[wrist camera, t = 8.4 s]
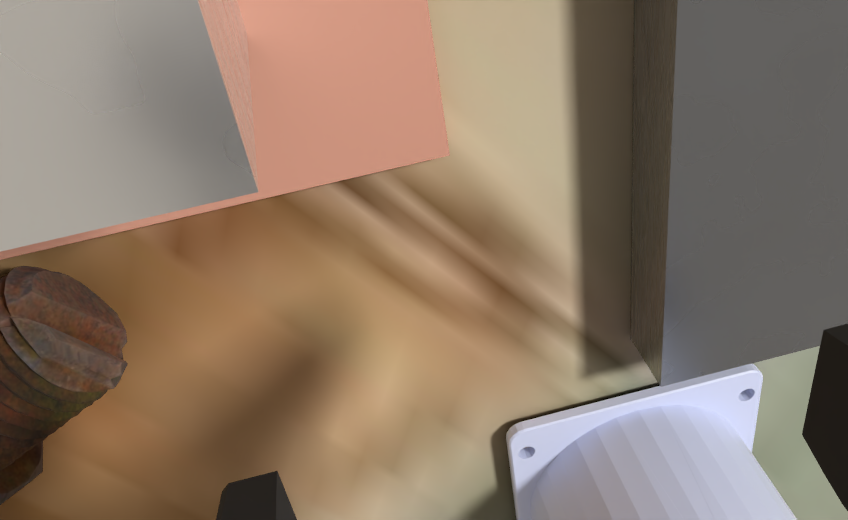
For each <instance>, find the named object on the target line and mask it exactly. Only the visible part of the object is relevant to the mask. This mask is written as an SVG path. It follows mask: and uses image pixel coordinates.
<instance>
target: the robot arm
mask: <svg viewBox="0 0 848 520" xmlns="http://www.w3.org/2000/svg"><path fill="white" fill-rule="evenodd" d="M762 381H763V376H762V373H761V372H760V371H759V369H758V368H757V367H756V366H755V365H754V364H747V365H743V366H739V367H736V368H732V369H728V370H724V371H720V372H716V373H713V374H709V375H705V376H701V377H697V378H693V379H689V380H686V381H682V382H678V383H674V384H670V385H666V386H662V387H661V386H657V387H653V388H649V389H645V390H641V391H637V392H633V393H630V394H626V395H622V396H618V397H614V398H610V399H606V400H603V401H599V402H595V403H591V404H587V405H583V406H579V407H576V408H572V409H568V410H564V411H560V412H556V413H553V414H549V415H545V416H541V417H537V418H533V419H529V420H526V421H522V422H519V423H516V424H514V425H513V426H512V427H511V428H510V429H509V430H508V432H507V434H506V441H507V449H508V456H509V464H510V472H511V480H512V488H513V496H514V503H515V511H516V519H517V520H797V519H796V517H795V516H794V514H793V513H792V511H791V510H790V508H789V507H788V505H787V504H786V503H785V501H784V500H783V498H782V497H781V495H780V494H779V492H778V491H777V489H776V488H775V486H774V485H773V484H772V482H771V481H770V479H769V478H768V476H767V475H766V473H765V472H764V470H763V469H762V467H761V466H760V465H759V463H758V462H757V460H756V459H755V457H754V456H753V454H752V447H753V440H754V434H755V427H756V421H757V414H758V407H759V401H760V394H761V387H762ZM802 435H803V437H804V439H805V440H806V442H807V444H808V446H809V448H810V449H811V451H812V453H813V455H814V457H815V458H816V460H817V462H818V464H819V465H820V467H821V469H822V471H823V473H824V474H825V476H826V478H827V479H828V481H829V483H830V484H831V486H832V487H833V489H834V491H835V492H836V494H837V496H838V497H839V499H840V501H841V502H842V504H843V505H844V507H845V508H846V509H847V511H848V324H844V325H840V326H836V327H833V328H829V329H825V330H823V335H822V339H821V344H820V349H819V354H818V359H817V364H816V369H815V374H814V379H813V384H812V388H811V393H810V398H809V403H808V408H807V413H806V418H805V423H804V428H803V433H802ZM525 447H526V448H525ZM216 520H297V519H296V517H295V514H294V512H293V509H292V507H291V504H290V502H289V499H288V497H287V494H286V492H285V489H284V487H283V484H282V482H281V479H280V477H279V474H278V472H277V471H275V472H271V473H267V474H263V475H259V476H255V477H252V478H248V479H244V480H240V481H236V482H232V483H229V484H228V485H227V486H226V487H225V489H224V490H223V491H222V495H221V499H220V504H219V509H218V513H217V518H216Z"/></svg>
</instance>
